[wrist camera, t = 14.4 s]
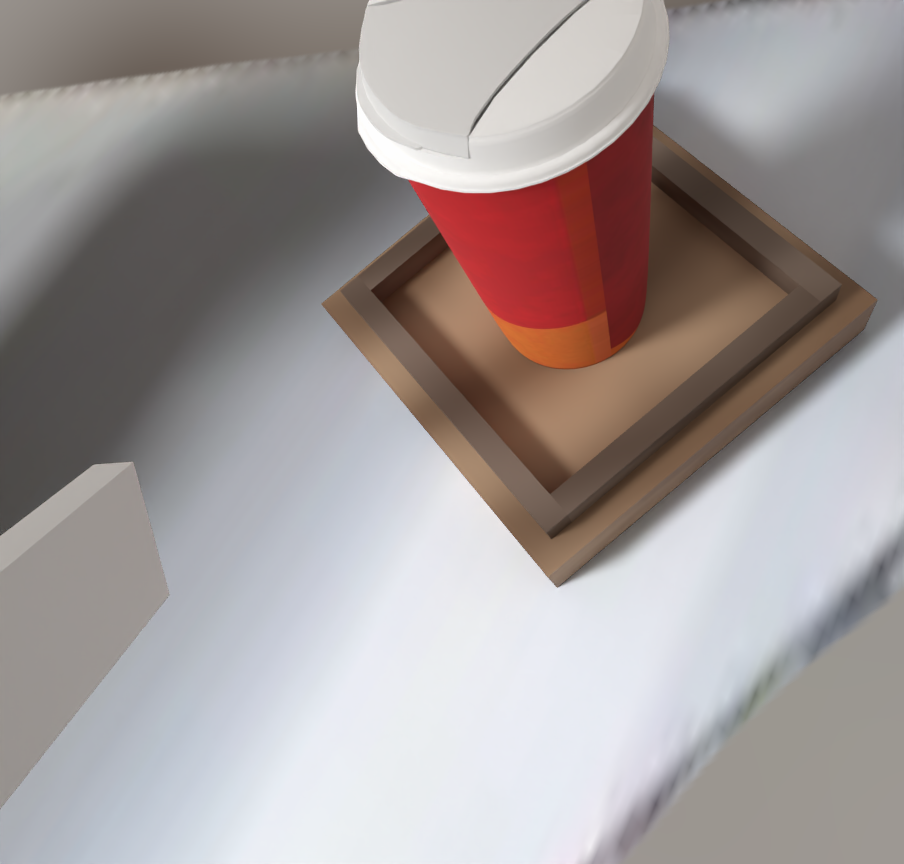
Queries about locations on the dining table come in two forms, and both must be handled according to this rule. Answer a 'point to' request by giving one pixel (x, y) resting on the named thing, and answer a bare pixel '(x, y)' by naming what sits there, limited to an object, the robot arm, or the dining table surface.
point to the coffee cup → (526, 153)
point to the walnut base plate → (607, 362)
